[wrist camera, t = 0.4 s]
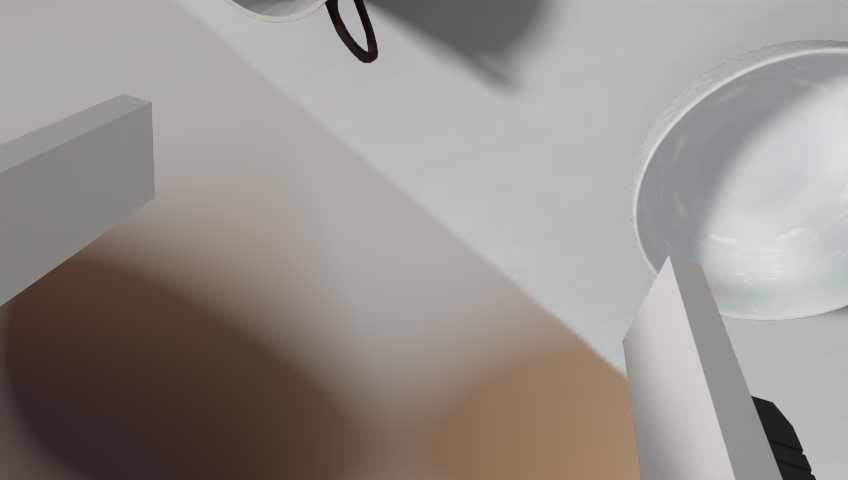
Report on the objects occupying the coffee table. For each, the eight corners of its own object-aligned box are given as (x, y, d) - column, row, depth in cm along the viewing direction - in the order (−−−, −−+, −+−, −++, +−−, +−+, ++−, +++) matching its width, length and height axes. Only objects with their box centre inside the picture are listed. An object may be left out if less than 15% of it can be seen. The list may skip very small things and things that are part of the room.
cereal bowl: (754, 304, 44) (784, 366, 38) (572, 185, 42) (573, 231, 36) (976, 122, 35) (1061, 167, 29) (757, -35, 34) (799, -23, 27)
